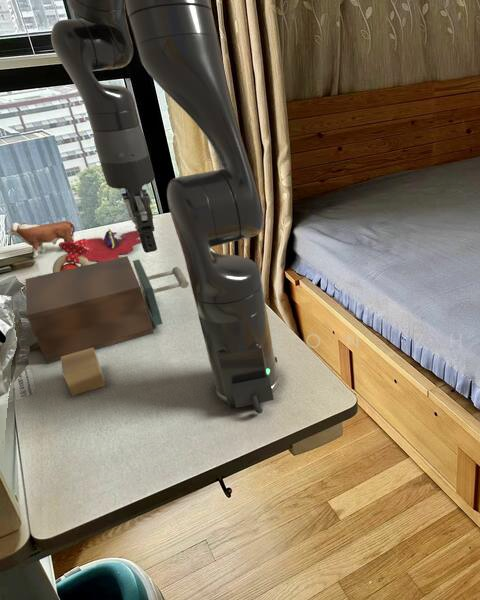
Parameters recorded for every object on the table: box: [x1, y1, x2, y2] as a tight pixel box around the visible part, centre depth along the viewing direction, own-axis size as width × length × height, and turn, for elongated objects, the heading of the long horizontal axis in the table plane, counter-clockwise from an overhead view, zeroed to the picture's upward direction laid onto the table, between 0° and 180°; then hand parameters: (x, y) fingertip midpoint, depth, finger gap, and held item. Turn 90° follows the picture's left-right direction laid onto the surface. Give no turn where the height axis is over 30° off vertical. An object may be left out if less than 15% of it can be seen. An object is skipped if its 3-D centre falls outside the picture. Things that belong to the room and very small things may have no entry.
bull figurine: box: [8, 220, 76, 259], centre depth 126 cm, size 4×13×8 cm, turn 107°
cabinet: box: [25, 255, 155, 364], centre depth 97 cm, size 17×15×9 cm
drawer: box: [132, 259, 190, 326], centre depth 99 cm, size 22×14×8 cm, turn 122°
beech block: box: [60, 348, 106, 397], centre depth 84 cm, size 5×5×5 cm
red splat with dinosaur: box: [82, 228, 141, 263], centre depth 129 cm, size 18×15×5 cm
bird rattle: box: [52, 238, 92, 273], centre depth 110 cm, size 6×11×9 cm
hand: (150, 250), depth 98 cm, fingers closed
